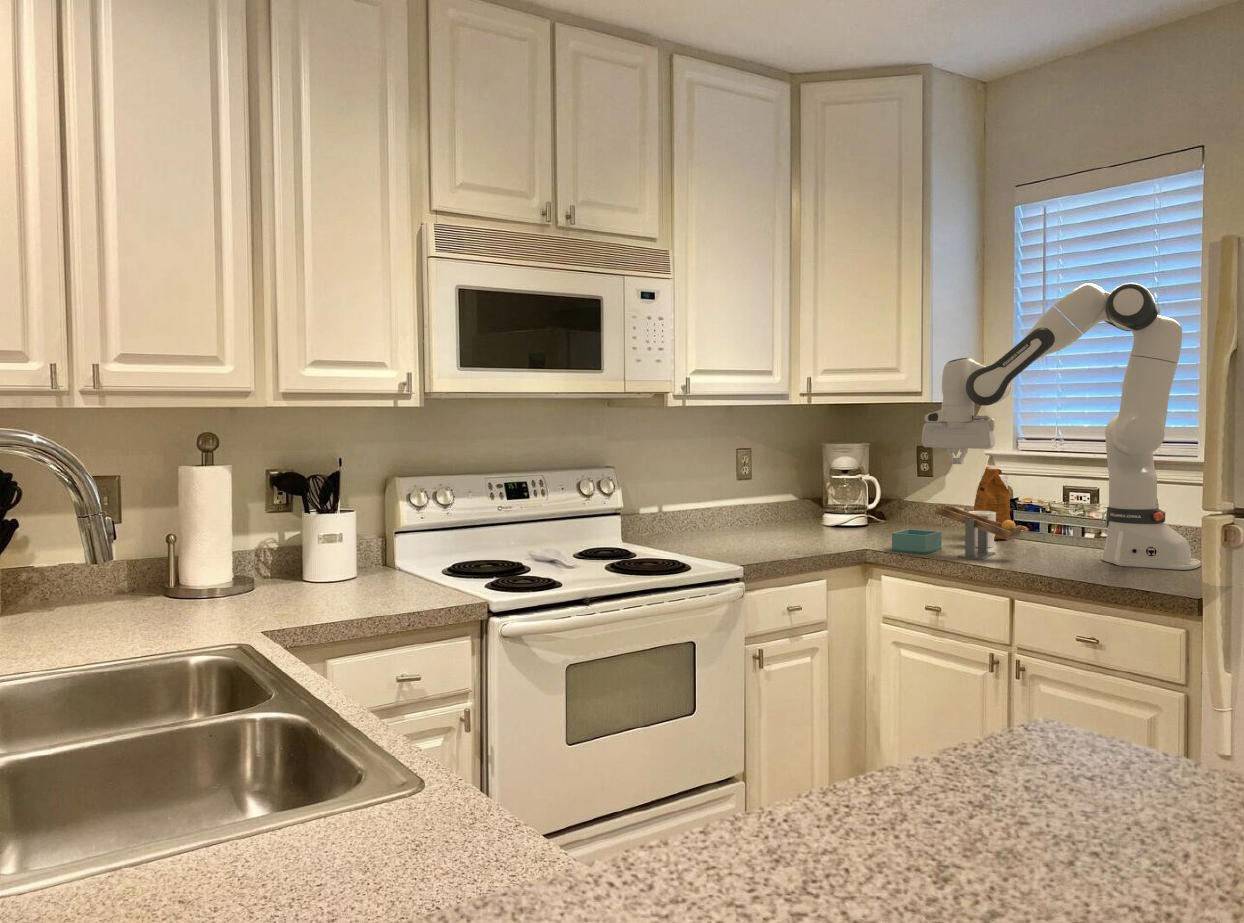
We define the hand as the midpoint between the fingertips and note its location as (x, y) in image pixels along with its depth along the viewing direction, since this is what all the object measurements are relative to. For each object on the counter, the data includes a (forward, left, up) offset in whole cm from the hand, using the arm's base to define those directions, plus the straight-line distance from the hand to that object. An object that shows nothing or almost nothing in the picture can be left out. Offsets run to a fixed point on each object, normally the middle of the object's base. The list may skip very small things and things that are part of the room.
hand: (957, 464), depth 270 cm
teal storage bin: (+9, +6, -25) cm, 27 cm away
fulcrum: (-8, +6, -25) cm, 27 cm away
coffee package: (+2, -29, -25) cm, 38 cm away
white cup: (-2, -12, -25) cm, 28 cm away
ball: (-17, +6, -16) cm, 24 cm away
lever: (-8, +3, -16) cm, 19 cm away
